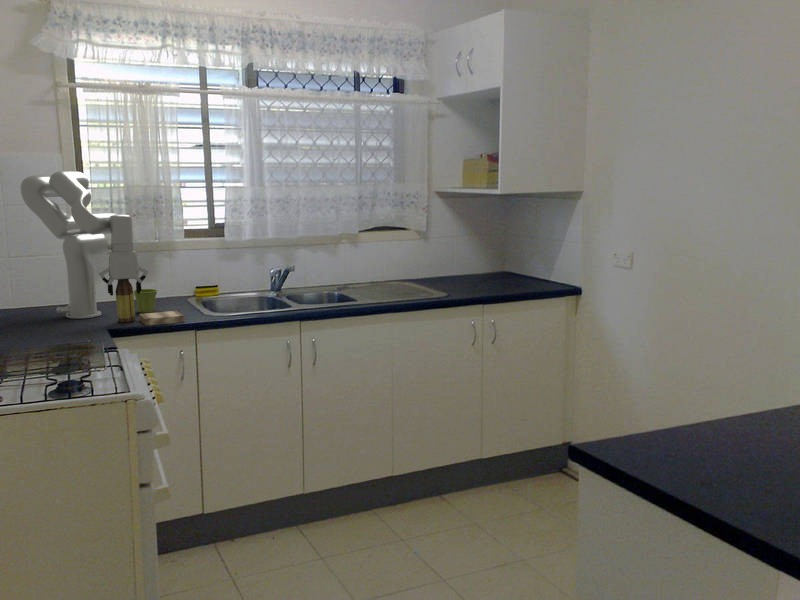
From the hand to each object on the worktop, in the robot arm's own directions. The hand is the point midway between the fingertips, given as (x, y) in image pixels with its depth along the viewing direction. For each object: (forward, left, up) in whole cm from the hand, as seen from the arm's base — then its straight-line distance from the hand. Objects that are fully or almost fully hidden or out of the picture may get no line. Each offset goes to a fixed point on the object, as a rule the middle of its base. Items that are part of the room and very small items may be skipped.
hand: (124, 294), depth 278 cm
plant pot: (+10, +16, -11) cm, 22 cm away
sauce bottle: (0, 0, -10) cm, 10 cm away
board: (+11, -6, -10) cm, 17 cm away
